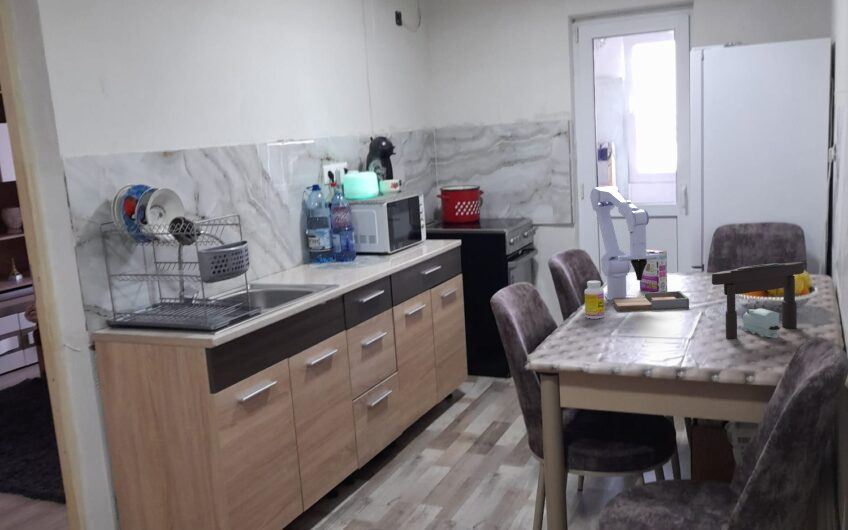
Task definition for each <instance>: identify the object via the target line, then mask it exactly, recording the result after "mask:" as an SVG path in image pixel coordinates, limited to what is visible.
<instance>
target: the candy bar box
mask: <svg viewBox="0 0 848 530" xmlns="http://www.w3.org/2000/svg"><path fill="white" fill-rule="evenodd" d="M646 251H647V254H659V260H647V264H646V266H645V269H644V271H643V275H642V280H639V290H641V291H646V292H649V293H650V292H668V270H667V268H668V267H667V266H668V265H667V263H668V262H667V261H668V259H667V250H658V249H648V248H646ZM643 259H645V258H643Z"/></svg>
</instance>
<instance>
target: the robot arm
mask: <svg viewBox="0 0 848 530" xmlns="http://www.w3.org/2000/svg"><path fill="white" fill-rule="evenodd" d="M589 199H590V204H591V207H592V210H593V211H594V212H596V213H595V214H596V217H597V221H598V225H599V229H600V234H601V238H602V241H603V245H604V250H605V253H604V254H603V255H602V257H601V258H600V262H601V271H602V274H603V275H604V276H605V277H606V288H607V291H606V292H607V293H606V294H605V293H604V297H605V298H606V299H607V301H612V298H628V297H629V296H628V295H627V276H628V274H629V273H630V271H631V266H632V268H633V270H634V273H635V277H636V280H637V281H640V280H642V275H643V271H644V269H645V266H646V264H647V260H659V254H647V251H646V249H647V225H648V224H649V223H650V215H649V213H648V211H647V210H646V209H640V208H639V207H637V206H636V205H635V204H634V203H633V202H632V200H625V199H624V198H623V196H622V195H621V194H620V189H619V188H618V187H617V186H616V185H612V186H603V187H602V186H601V187H593V188H592V189H591V191H590V195H589ZM615 207H617V208H618V209H617V211H618V213H619V214H620V215H622V217H624V219H625V221H626V224H627V231H628V232H629V247H630V248H629V251H630V252H629V254H627V253H626V252H624V251H622V250H621V249H620V247H619V243H618V239H617V236H616V235H617V234H616V231H615V228H614V224H613V220H612V216H611V211H612V210H614V209H615ZM643 258H645V259H643Z"/></svg>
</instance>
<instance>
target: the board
mask: <svg viewBox="0 0 848 530" xmlns="http://www.w3.org/2000/svg"><path fill="white" fill-rule="evenodd" d="M611 301H612V305H613V306H614V308H615V309H616V311H617V312H618V311H620V312H633V311H634V312H638V311H653V310H652V304H651V303H650V302H649V301H648V300H647V299H646V298H645V296H633V297H631V296H630V297H629V296H628V298H612V300H611Z"/></svg>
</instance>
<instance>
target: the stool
mask: <svg viewBox="0 0 848 530" xmlns="http://www.w3.org/2000/svg"><path fill="white" fill-rule="evenodd" d="M804 273H805V263H804V262H803V261H796V262H795V261H794V262H787V263H786V262H785V263H776V262H775V263H766V264H757V265H749V266H743V267H742V266H741V267H739V268H738V267H737V268H736V269H730V270H724V271H718V272H714V273H712V275H711V284H712V286H718V285H723V293H724V296H726V310H725V338H726V339H733V340H734V339H737V338H738V312H737V310H736V295H743V294H744V295H745V294H749V293H758V292H763V291H764V292H765V291H773V290H778V289H783V299H782V301H781V314H780V313H779V312H777V311H773V310H770V309H765V308H762V307H761V308H756V309H754V308H752V309H751V308H750V309H747V311H746V312H745V313H744V314H743V316H742V325H741V328H740V330H743V332H745V331H747V332H751V334H753V335H755V334H756V333H757V335H759V337H762V338H763V337H767V338H772V339H773V338H774V339H777V338H779V332H778V330H781V327H780V315H781V325H782V328H787V329H797V326H798V325H797V323H798V322H797V321H798V320H797V319H798V314H797V313H798V311H797V310H798V308H797V307H798V305H797V301H796V277H795V275H801V274H804Z"/></svg>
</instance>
